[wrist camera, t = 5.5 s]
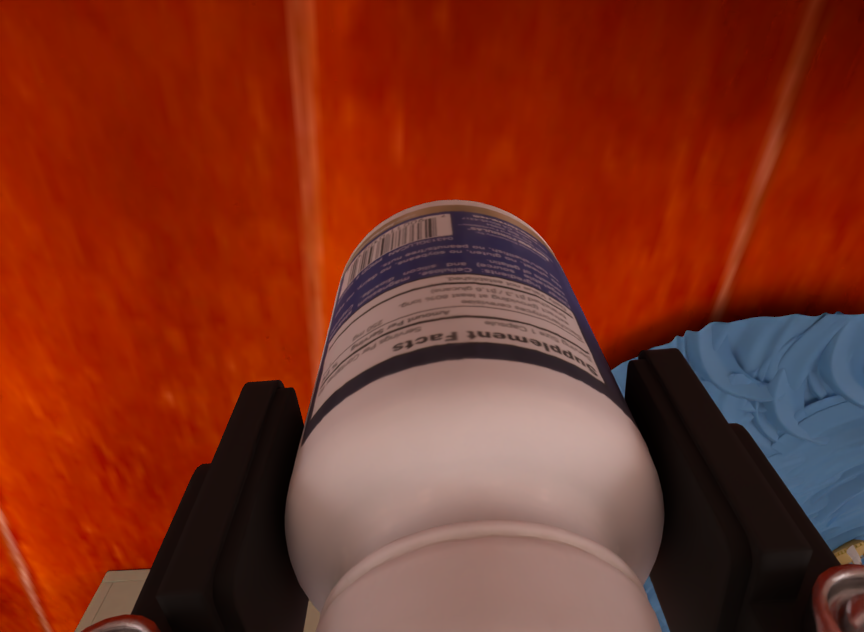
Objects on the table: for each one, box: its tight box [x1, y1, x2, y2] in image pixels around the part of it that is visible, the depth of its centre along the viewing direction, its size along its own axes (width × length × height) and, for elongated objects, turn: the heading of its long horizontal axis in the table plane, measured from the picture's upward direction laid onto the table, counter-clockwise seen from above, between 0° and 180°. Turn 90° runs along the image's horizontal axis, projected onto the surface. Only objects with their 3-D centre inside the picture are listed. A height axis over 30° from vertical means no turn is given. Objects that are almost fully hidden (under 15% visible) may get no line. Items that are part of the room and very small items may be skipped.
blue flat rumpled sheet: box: [611, 311, 864, 632], centre depth 33 cm, size 30×30×5 cm
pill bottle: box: [285, 200, 665, 632], centre depth 10 cm, size 5×5×10 cm
